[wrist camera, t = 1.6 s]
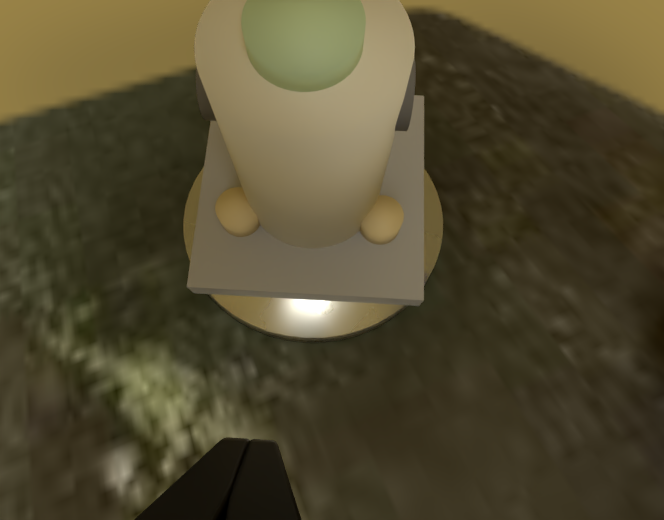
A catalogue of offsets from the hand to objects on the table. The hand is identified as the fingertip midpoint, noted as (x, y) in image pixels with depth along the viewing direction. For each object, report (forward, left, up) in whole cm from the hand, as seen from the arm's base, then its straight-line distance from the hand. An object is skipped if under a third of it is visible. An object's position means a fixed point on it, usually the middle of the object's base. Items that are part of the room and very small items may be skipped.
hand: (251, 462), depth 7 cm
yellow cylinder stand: (+11, +6, -12) cm, 17 cm away
